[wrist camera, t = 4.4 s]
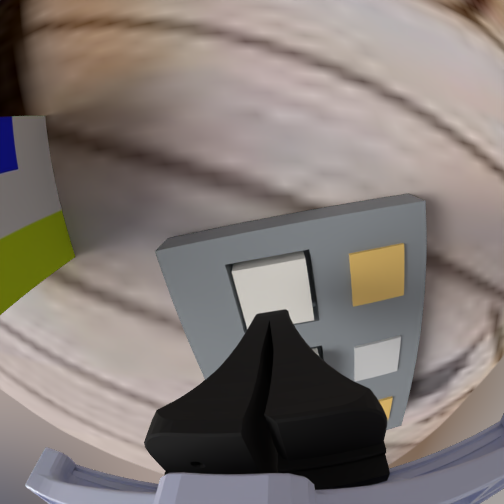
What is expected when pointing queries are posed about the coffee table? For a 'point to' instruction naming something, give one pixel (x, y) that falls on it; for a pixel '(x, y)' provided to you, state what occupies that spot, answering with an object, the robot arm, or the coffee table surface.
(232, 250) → the button board
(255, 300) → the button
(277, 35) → the coffee table surface
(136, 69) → the coffee table surface
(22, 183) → the puzzle toy
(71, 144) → the coffee table surface
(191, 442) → the robot arm
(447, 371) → the coffee table surface
